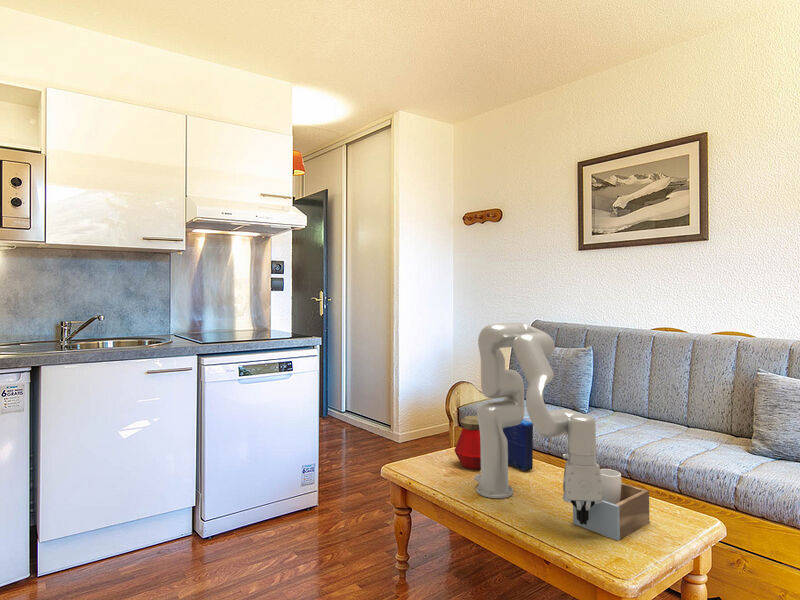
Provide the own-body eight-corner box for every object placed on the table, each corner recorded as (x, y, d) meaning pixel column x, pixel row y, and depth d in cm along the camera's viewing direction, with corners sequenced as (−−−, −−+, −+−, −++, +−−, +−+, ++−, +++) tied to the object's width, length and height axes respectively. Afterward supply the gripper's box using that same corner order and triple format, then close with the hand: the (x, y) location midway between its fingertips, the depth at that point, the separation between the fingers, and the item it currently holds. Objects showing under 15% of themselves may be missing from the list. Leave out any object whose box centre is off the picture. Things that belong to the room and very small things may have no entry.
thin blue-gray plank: (573, 523, 147) (572, 491, 147) (574, 522, 147) (574, 491, 147) (618, 540, 136) (617, 506, 136) (619, 539, 136) (619, 505, 136)
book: (500, 463, 203) (499, 415, 203) (509, 461, 205) (509, 413, 205) (524, 473, 190) (524, 422, 190) (534, 471, 193) (534, 420, 193)
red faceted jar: (498, 466, 199) (498, 417, 199) (479, 475, 189) (478, 423, 189) (467, 458, 210) (466, 411, 210) (447, 465, 200) (447, 417, 200)
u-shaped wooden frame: (574, 521, 148) (573, 490, 148) (604, 506, 158) (604, 477, 158) (619, 539, 136) (619, 505, 136) (649, 522, 147) (649, 490, 147)
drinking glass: (610, 529, 143) (609, 477, 143) (592, 519, 149) (592, 470, 149) (626, 524, 145) (626, 474, 146) (608, 515, 152) (608, 467, 152)
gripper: (557, 461, 137) (558, 527, 137) (613, 463, 135) (613, 529, 135) (552, 453, 144) (553, 515, 144) (605, 455, 143) (605, 518, 143)
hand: (582, 522), depth 140 cm, fingers closed
